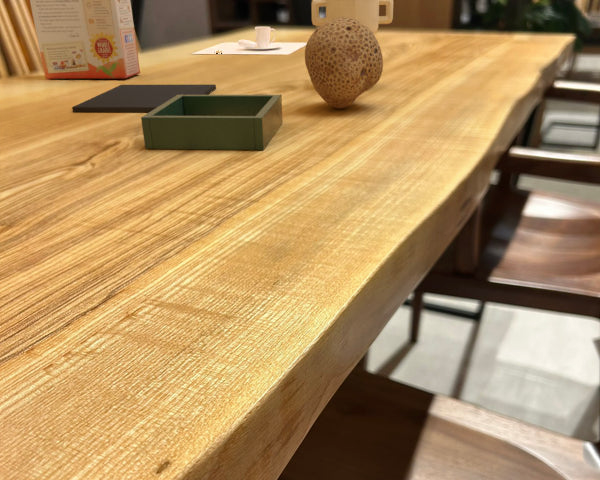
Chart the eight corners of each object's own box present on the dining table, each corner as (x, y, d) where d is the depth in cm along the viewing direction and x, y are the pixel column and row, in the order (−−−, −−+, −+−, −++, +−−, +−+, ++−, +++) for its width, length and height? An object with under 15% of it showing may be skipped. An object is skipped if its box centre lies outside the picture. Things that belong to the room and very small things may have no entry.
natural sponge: (351, 97, 82) (352, 12, 77) (397, 108, 75) (402, 16, 71) (292, 107, 78) (289, 17, 73) (335, 119, 71) (336, 21, 66)
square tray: (145, 149, 61) (140, 117, 60) (180, 122, 72) (177, 94, 70) (263, 150, 60) (262, 117, 59) (282, 122, 70) (281, 94, 69)
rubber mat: (72, 112, 78) (71, 107, 78) (121, 88, 92) (121, 84, 92) (183, 112, 76) (183, 107, 76) (216, 88, 90) (215, 84, 90)
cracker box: (142, 74, 104) (122, -75, 94) (126, 80, 99) (103, -77, 89) (63, 73, 107) (36, -71, 97) (44, 79, 101) (13, -73, 92)
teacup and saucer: (234, 51, 128) (233, 29, 126) (246, 46, 135) (245, 25, 133) (277, 51, 126) (276, 29, 125) (286, 46, 133) (286, 25, 131)
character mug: (386, 80, 93) (389, -19, 87) (394, 89, 87) (398, -18, 81) (311, 83, 93) (310, -17, 87) (314, 91, 86) (312, -16, 80)
